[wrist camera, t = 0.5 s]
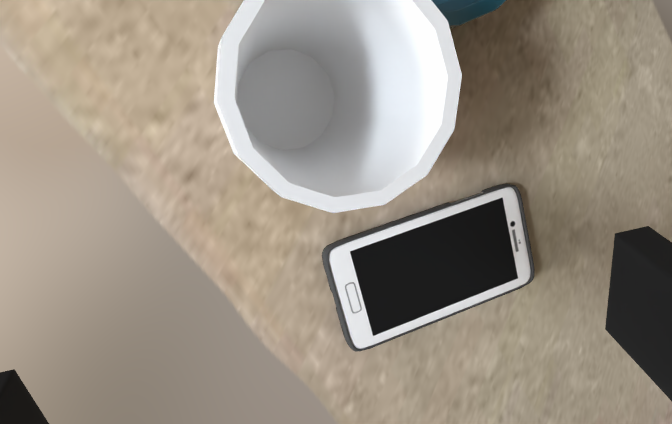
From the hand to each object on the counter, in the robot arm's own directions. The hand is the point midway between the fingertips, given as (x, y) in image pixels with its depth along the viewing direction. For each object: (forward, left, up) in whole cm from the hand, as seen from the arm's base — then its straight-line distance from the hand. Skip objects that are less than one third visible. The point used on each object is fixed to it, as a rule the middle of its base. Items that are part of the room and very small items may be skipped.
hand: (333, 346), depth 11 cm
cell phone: (+9, +10, -21) cm, 25 cm away
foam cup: (-5, +5, -22) cm, 23 cm away
